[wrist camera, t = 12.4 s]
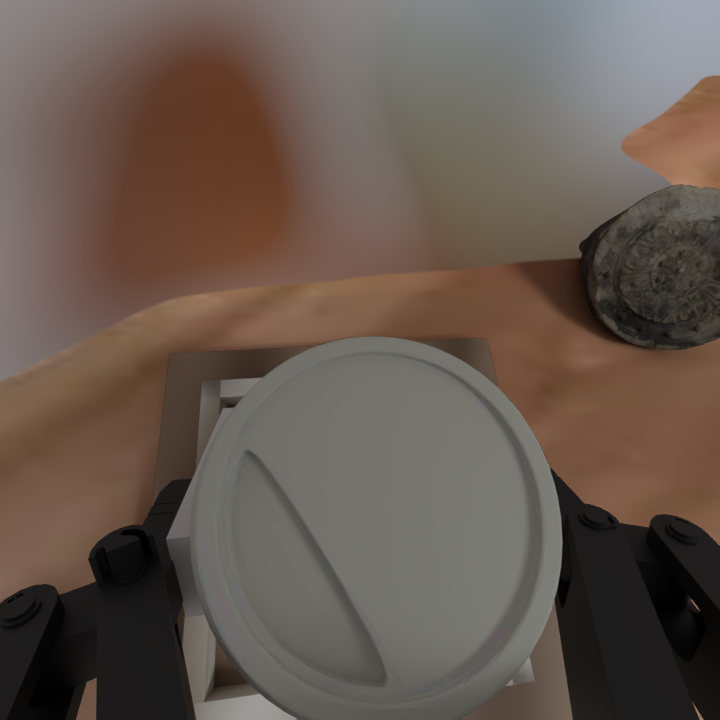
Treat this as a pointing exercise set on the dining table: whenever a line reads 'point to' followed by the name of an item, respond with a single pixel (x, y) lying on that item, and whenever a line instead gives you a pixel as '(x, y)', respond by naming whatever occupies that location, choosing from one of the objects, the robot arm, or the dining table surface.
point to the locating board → (201, 650)
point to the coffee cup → (376, 534)
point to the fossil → (658, 269)
